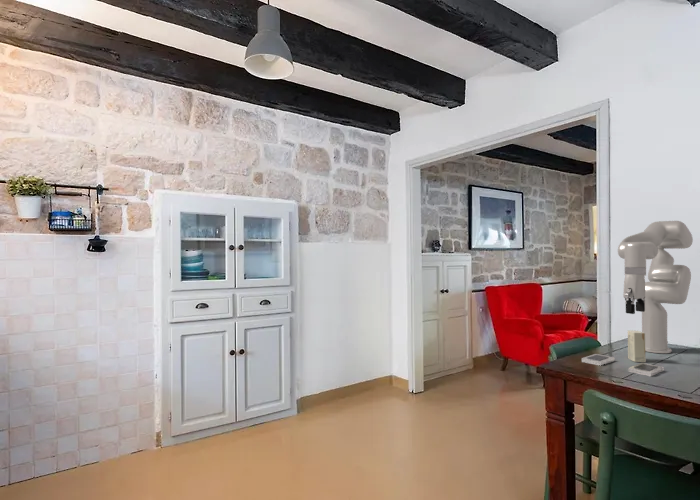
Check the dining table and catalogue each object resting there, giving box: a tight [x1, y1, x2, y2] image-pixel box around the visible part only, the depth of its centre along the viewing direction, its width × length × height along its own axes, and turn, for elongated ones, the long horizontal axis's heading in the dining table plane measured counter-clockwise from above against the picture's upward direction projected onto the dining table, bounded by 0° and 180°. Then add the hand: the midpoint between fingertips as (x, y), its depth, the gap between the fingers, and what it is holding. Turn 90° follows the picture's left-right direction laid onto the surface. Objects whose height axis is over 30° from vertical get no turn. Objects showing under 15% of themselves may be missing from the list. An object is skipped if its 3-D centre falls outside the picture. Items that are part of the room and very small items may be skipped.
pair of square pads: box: [581, 353, 665, 377], centre depth 169 cm, size 12×25×2 cm, turn 35°
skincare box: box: [627, 329, 647, 363], centre depth 177 cm, size 6×4×12 cm
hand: (635, 312), depth 177 cm, fingers open, 9 cm apart
